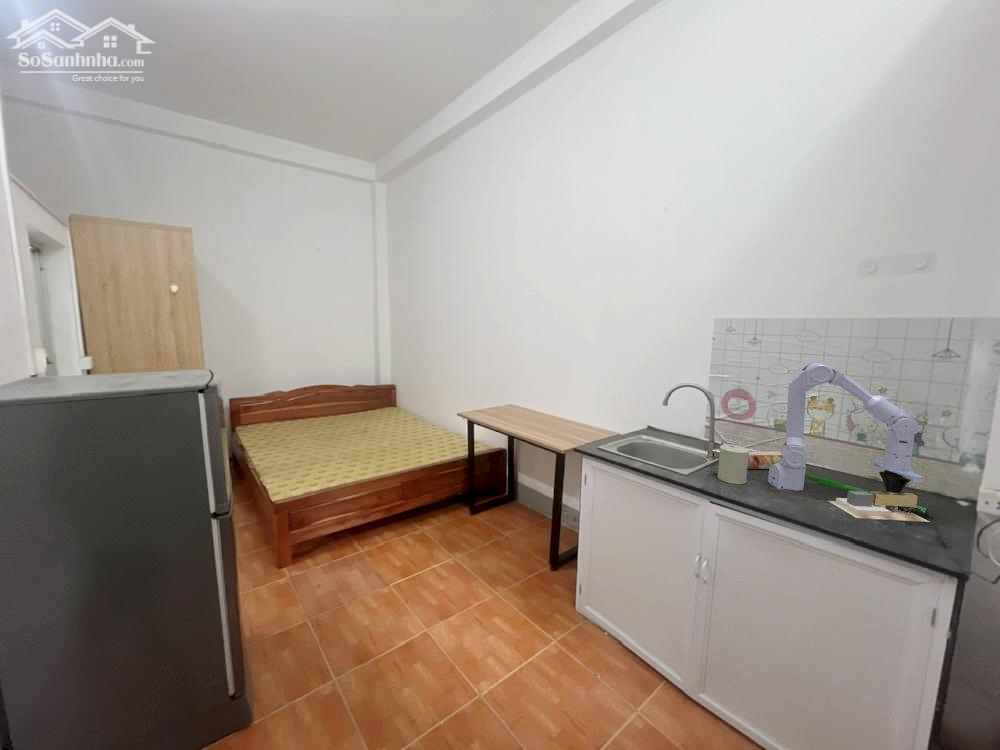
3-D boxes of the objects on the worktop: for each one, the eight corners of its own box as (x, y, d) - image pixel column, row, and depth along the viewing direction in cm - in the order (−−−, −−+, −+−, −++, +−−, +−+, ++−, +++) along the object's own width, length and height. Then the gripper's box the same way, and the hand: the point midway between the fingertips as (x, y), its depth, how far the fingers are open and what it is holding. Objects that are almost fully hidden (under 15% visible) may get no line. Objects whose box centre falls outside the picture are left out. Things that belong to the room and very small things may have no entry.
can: (741, 475, 145) (743, 444, 144) (750, 485, 137) (754, 452, 135) (714, 473, 147) (716, 442, 146) (721, 482, 139) (724, 450, 137)
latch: (875, 504, 114) (876, 493, 114) (869, 501, 116) (870, 490, 116) (916, 506, 113) (917, 495, 113) (909, 503, 115) (911, 492, 115)
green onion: (925, 516, 117) (804, 479, 141) (927, 506, 117) (805, 470, 140) (922, 521, 114) (799, 482, 138) (925, 510, 114) (801, 474, 137)
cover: (856, 514, 112) (858, 498, 112) (835, 502, 120) (837, 487, 119) (890, 516, 111) (892, 499, 111) (867, 504, 119) (869, 488, 119)
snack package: (731, 470, 152) (733, 453, 151) (723, 464, 158) (724, 448, 157) (788, 471, 151) (789, 454, 150) (776, 465, 157) (778, 449, 156)
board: (855, 522, 111) (857, 512, 110) (827, 505, 121) (828, 495, 121) (929, 526, 109) (931, 516, 108) (893, 508, 120) (895, 498, 119)
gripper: (937, 462, 110) (930, 508, 112) (891, 446, 124) (885, 487, 126) (909, 461, 111) (903, 506, 112) (867, 445, 125) (861, 486, 127)
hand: (892, 496), depth 119 cm, fingers closed
